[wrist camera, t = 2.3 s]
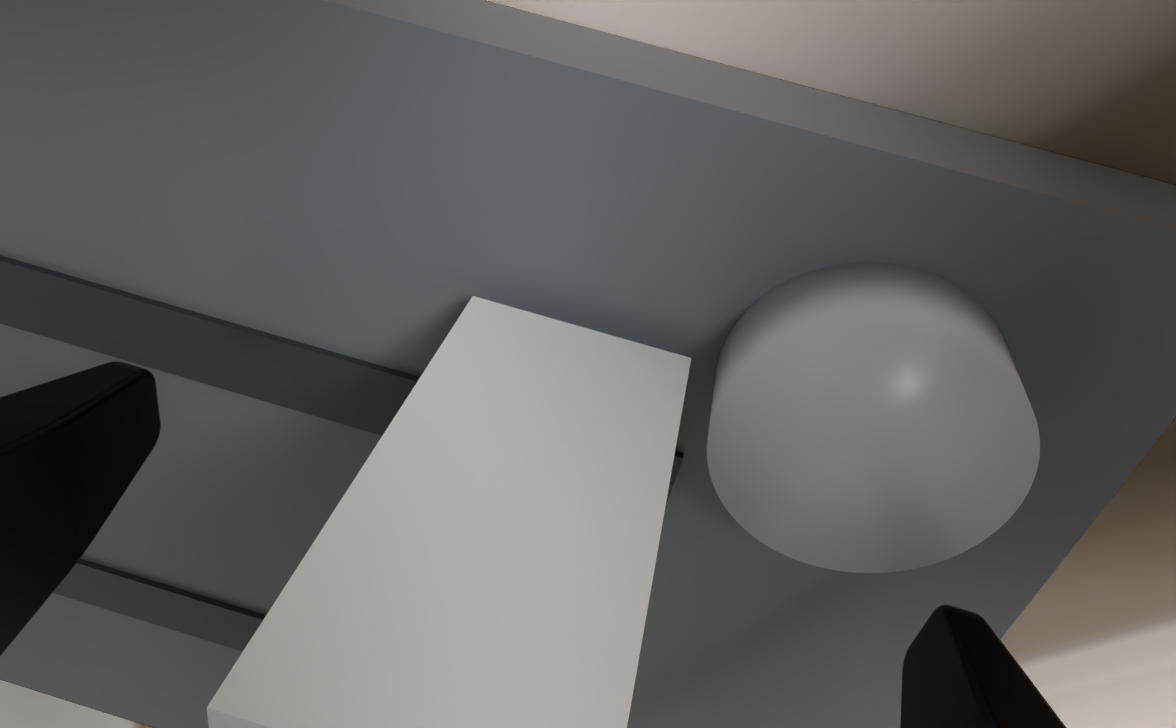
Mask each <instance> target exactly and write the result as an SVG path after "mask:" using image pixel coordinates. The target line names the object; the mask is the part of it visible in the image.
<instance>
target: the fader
mask: <svg viewBox="0 0 1176 728" xmlns="http://www.w3.org/2000/svg"><path fill="white" fill-rule="evenodd" d="M690 363H691V358H690V357H686V356H682V355H679V354H675V353H672V352H668V351H665V350H661V349H658V348H654V347H651V346H647V345H644V344H640V343H637V342H633V341H630V340H626V339H623V338H619V337H616V336H612V335H609V334H605V333H602V332H598V331H595V330H591V329H588V328H584V327H581V326H577V325H574V324H570V323H566V322H563V321H559V320H556V319H552V318H549V317H545V316H542V315H538V314H535V313H531V312H528V311H524V310H521V309H517V308H514V307H510V306H507V305H503V304H500V303H496V302H493V301H489V300H486V299H482V298H479V297H475V296H472V298H471V299H470V301H469V303H468V304H467V306H466V307H465V309H464V310H463V312H462V313H461V315H460V316H459V318H458V320H457V321H456V323H455V324H454V326H453V327H452V329H451V330H450V332H449V333H448V335H447V337H446V338H445V340H444V341H443V343H442V344H441V346H440V347H439V349H438V351H437V352H436V354H435V355H434V357H433V358H432V360H431V361H430V363H429V364H428V366H427V368H426V369H425V371H424V372H423V374H422V375H421V377H420V378H419V380H418V381H417V383H416V385H415V386H414V388H413V389H412V391H411V392H410V394H409V395H408V397H407V398H406V400H405V402H404V403H403V405H402V406H401V408H400V409H399V411H398V412H397V414H396V415H395V417H394V419H393V420H392V422H391V423H390V425H389V426H388V428H387V429H386V431H385V433H384V434H383V436H382V437H381V439H380V440H379V442H378V443H377V445H376V446H375V448H374V450H373V451H372V453H371V454H370V456H369V457H368V459H367V460H366V462H365V463H364V465H363V467H362V468H361V470H360V471H359V473H358V474H357V476H356V477H355V479H354V480H353V482H352V484H351V485H350V487H349V488H348V490H347V491H346V493H345V494H344V496H343V497H342V499H341V501H340V502H339V504H338V505H337V507H336V508H335V510H334V511H333V513H332V514H331V516H330V518H329V519H328V521H327V522H326V524H325V525H324V527H323V528H322V530H321V532H320V533H319V535H318V536H317V538H316V539H315V541H314V542H313V544H312V545H311V547H310V549H309V550H308V552H307V553H306V555H305V556H304V558H303V559H302V561H301V562H300V564H299V566H298V567H297V569H296V570H295V572H294V573H293V575H292V576H291V578H290V579H289V581H288V583H287V584H286V586H285V587H284V589H283V590H282V592H281V593H280V595H279V596H278V598H277V600H276V601H275V603H274V604H273V606H272V607H271V609H270V610H269V612H268V614H267V615H266V617H265V618H264V620H263V621H262V623H261V624H260V626H259V627H258V629H257V631H256V632H255V634H254V635H253V637H252V638H251V640H250V641H249V643H248V644H247V646H246V648H245V649H244V651H243V652H242V654H241V655H240V657H239V658H238V660H237V661H236V663H235V665H234V666H233V668H232V669H231V671H230V672H229V674H228V675H227V677H226V678H225V680H224V682H223V683H222V685H221V686H220V688H219V689H218V691H217V692H216V694H215V696H214V697H213V699H212V700H211V702H210V703H209V705H208V706H207V715H208V725H209V728H627V724H628V719H629V713H630V707H631V701H632V696H633V690H634V684H635V678H636V673H637V667H638V661H639V655H640V650H641V644H642V638H643V633H644V627H645V621H646V615H647V610H648V604H649V598H650V592H651V587H652V581H653V575H654V569H655V564H656V558H657V552H658V546H659V541H660V535H661V529H662V523H663V518H664V512H665V506H666V500H667V495H668V489H669V483H670V478H671V472H672V466H673V460H674V455H675V449H676V443H677V437H678V432H679V426H680V420H681V414H682V409H683V403H684V397H685V391H686V386H687V380H688V374H689V368H690Z"/></svg>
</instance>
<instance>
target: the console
mask: <svg viewBox="0 0 1176 728" xmlns="http://www.w3.org/2000/svg"><path fill="white" fill-rule="evenodd" d="M472 296H475V297H479V298H482V299H486V300H489V301H493V302H496V303H500V304H503V305H507V306H510V307H514V308H517V309H521V310H524V311H528V312H531V313H535V314H538V315H542V316H545V317H549V318H552V319H556V320H559V321H563V322H566V323H570V324H574V325H577V326H581V327H584V328H588V329H591V330H595V331H598V332H602V333H605V334H609V335H612V336H616V337H619V338H623V339H626V340H630V341H633V342H637V343H640V344H644V345H647V346H651V347H654V348H658V349H661V350H665V351H668V352H672V353H675V354H679V355H682V356H686V357H690V358H691V363H690V368H689V374H688V380H687V386H686V391H685V397H684V403H683V409H682V414H681V420H680V426H679V432H678V437H677V443H676V449H675V455H674V460H673V466H672V472H671V478H670V483H669V489H668V495H667V500H666V506H665V512H664V518H663V523H662V529H661V535H660V541H659V546H658V552H657V558H656V564H655V569H654V575H653V581H652V587H651V592H650V598H649V604H648V610H647V615H646V621H645V627H644V633H643V638H642V644H641V650H640V655H639V661H638V667H637V673H636V678H635V684H634V690H633V696H632V701H631V707H630V713H629V719H628V724H627V728H900V720H901V692H902V668H903V661H904V658H905V654H906V652H907V649H908V648H909V646H910V644H911V643H912V642H913V640H914V639H915V637H916V636H917V634H918V633H919V631H920V630H921V629H922V627H923V626H924V624H925V623H926V621H927V620H928V618H929V617H930V616H931V614H932V613H933V611H934V610H935V609H936V608H937V607H939V606H941V605H951V606H954V607H958V608H961V609H964V610H968V611H971V612H975V613H977V614H979V615H980V616H981V617H983V618H984V619H985V621H986V622H987V623H988V624H989V626H990V627H991V628H992V630H993V631H994V632H995V634H996V635H997V636H998V638H999V639H1001V638H1002V636H1003V635H1004V634H1005V633H1006V631H1007V630H1008V629H1009V628H1010V626H1011V625H1012V624H1013V622H1014V621H1015V620H1016V619H1017V617H1018V616H1019V615H1020V614H1021V612H1022V611H1023V610H1024V609H1025V607H1026V606H1027V605H1028V603H1029V602H1030V601H1031V600H1032V598H1033V597H1034V596H1035V595H1036V593H1037V592H1038V591H1039V590H1040V588H1041V587H1042V586H1043V584H1044V583H1045V582H1046V581H1047V579H1048V578H1049V577H1050V576H1051V574H1052V573H1053V572H1054V570H1055V569H1056V568H1057V567H1058V565H1059V564H1060V563H1061V562H1062V560H1063V559H1064V558H1065V557H1066V555H1067V554H1068V553H1069V551H1070V550H1071V549H1072V548H1073V546H1074V545H1075V544H1076V543H1077V541H1078V540H1079V539H1080V538H1081V536H1082V535H1083V534H1084V532H1085V531H1086V530H1087V529H1088V527H1089V526H1090V525H1091V524H1092V522H1093V521H1094V520H1095V518H1096V517H1097V516H1098V515H1099V513H1100V512H1101V511H1102V510H1103V508H1104V507H1105V506H1106V505H1107V503H1108V502H1109V501H1110V499H1111V498H1112V497H1113V496H1114V494H1115V493H1116V492H1117V491H1118V489H1119V488H1120V487H1121V486H1122V484H1123V483H1124V482H1125V480H1126V479H1127V478H1128V477H1129V475H1130V474H1131V473H1132V472H1133V470H1134V469H1135V468H1136V466H1137V465H1138V464H1139V463H1140V461H1141V460H1142V459H1143V458H1144V456H1145V455H1146V454H1147V453H1148V451H1149V450H1150V449H1151V447H1152V446H1153V445H1154V444H1155V442H1156V441H1157V440H1158V439H1159V437H1160V436H1161V435H1162V434H1163V432H1164V431H1165V430H1166V428H1167V427H1168V426H1169V425H1170V423H1171V422H1172V421H1173V420H1174V418H1175V417H1176V185H1173V184H1169V183H1166V182H1162V181H1158V180H1154V179H1151V178H1147V177H1143V176H1139V175H1136V174H1132V173H1128V172H1125V171H1121V170H1117V169H1113V168H1110V167H1106V166H1102V165H1098V164H1095V163H1091V162H1087V161H1083V160H1080V159H1076V158H1072V157H1068V156H1065V155H1061V154H1057V153H1054V152H1050V151H1046V150H1042V149H1039V148H1035V147H1031V146H1027V145H1024V144H1020V143H1016V142H1012V141H1009V140H1005V139H1001V138H997V137H994V136H990V135H986V134H982V133H979V132H975V131H971V130H968V129H964V128H960V127H956V126H953V125H949V124H945V123H941V122H938V121H934V120H930V119H926V118H923V117H919V116H915V115H911V114H908V113H904V112H900V111H896V110H893V109H889V108H885V107H882V106H878V105H874V104H870V103H867V102H863V101H859V100H855V99H852V98H848V97H844V96H840V95H837V94H833V93H829V92H825V91H822V90H818V89H814V88H810V87H807V86H803V85H799V84H796V83H792V82H788V81H784V80H781V79H777V78H773V77H769V76H766V75H762V74H758V73H754V72H751V71H747V70H743V69H739V68H736V67H732V66H728V65H724V64H721V63H717V62H713V61H710V60H706V59H702V58H698V57H695V56H691V55H687V54H683V53H680V52H676V51H672V50H668V49H665V48H661V47H657V46H653V45H650V44H646V43H642V42H639V41H635V40H631V39H627V38H624V37H620V36H616V35H612V34H609V33H605V32H601V31H597V30H594V29H590V28H586V27H582V26H579V25H575V24H571V23H567V22H564V21H560V20H556V19H553V18H549V17H545V16H541V15H538V14H534V13H530V12H526V11H523V10H519V9H515V8H511V7H508V6H504V5H500V4H496V3H493V2H489V1H485V0H0V397H2V396H5V395H9V394H12V393H15V392H18V391H21V390H24V389H27V388H30V387H33V386H37V385H40V384H43V383H46V382H49V381H52V380H55V379H58V378H61V377H65V376H68V375H71V374H74V373H77V372H80V371H83V370H86V369H89V368H93V367H96V366H99V365H102V364H105V363H109V362H113V361H118V362H124V363H127V364H131V365H134V366H137V367H141V368H144V369H147V370H148V371H150V372H151V373H152V374H153V376H154V377H155V381H156V388H157V396H158V405H159V413H160V422H161V429H160V435H159V438H158V440H157V443H156V445H155V447H154V448H153V450H152V451H151V453H150V454H149V456H148V458H147V459H146V461H145V462H144V464H143V465H142V467H141V468H140V470H139V471H138V473H137V474H136V476H135V477H134V479H133V480H132V482H131V483H130V485H129V487H128V488H127V490H126V491H125V493H124V494H123V496H122V497H121V499H120V500H119V502H118V503H117V505H116V506H115V508H114V509H113V511H112V512H111V514H110V516H109V517H108V519H107V520H106V522H105V523H104V525H103V526H102V528H101V529H100V531H99V532H98V534H97V535H96V537H95V538H94V540H93V541H92V543H91V544H90V545H89V547H88V548H87V550H86V551H85V553H84V554H83V555H82V557H81V558H80V559H79V561H78V562H77V563H76V564H75V566H74V567H73V568H72V570H71V571H70V572H69V573H68V575H67V576H66V577H65V578H64V579H63V581H62V582H61V583H60V584H59V586H58V587H57V588H56V589H55V590H54V592H53V593H52V594H51V595H50V597H49V598H48V599H47V600H46V601H45V603H44V604H43V605H42V606H41V607H40V609H39V610H38V611H37V612H36V614H35V615H34V616H33V617H32V618H31V620H30V621H29V622H28V623H27V625H26V626H25V627H24V628H23V629H22V631H21V632H20V633H19V634H18V636H17V637H16V638H15V639H14V640H13V642H12V643H11V644H10V645H9V647H8V648H7V649H6V650H5V651H4V653H3V654H2V655H1V656H0V680H3V681H6V682H10V683H13V684H16V685H19V686H22V687H26V688H29V689H32V690H35V691H38V692H41V693H44V694H48V695H51V696H54V697H57V698H60V699H63V700H67V701H70V702H73V703H76V704H79V705H83V706H86V707H89V708H92V709H95V710H98V711H102V712H105V713H108V714H111V715H114V716H118V717H121V718H124V719H127V720H130V721H133V722H137V723H140V724H143V725H146V726H149V727H152V728H209V725H208V715H207V706H208V705H209V703H210V702H211V700H212V699H213V697H214V696H215V694H216V692H217V691H218V689H219V688H220V686H221V685H222V683H223V682H224V680H225V678H226V677H227V675H228V674H229V672H230V671H231V669H232V668H233V666H234V665H235V663H236V661H237V660H238V658H239V657H240V655H241V654H242V652H243V651H244V649H245V648H246V646H247V644H248V643H249V641H250V640H251V638H252V637H253V635H254V634H255V632H256V631H257V629H258V627H259V626H260V624H261V623H262V621H263V620H264V618H265V617H266V615H267V614H268V612H269V610H270V609H271V607H272V606H273V604H274V603H275V601H276V600H277V598H278V596H279V595H280V593H281V592H282V590H283V589H284V587H285V586H286V584H287V583H288V581H289V579H290V578H291V576H292V575H293V573H294V572H295V570H296V569H297V567H298V566H299V564H300V562H301V561H302V559H303V558H304V556H305V555H306V553H307V552H308V550H309V549H310V547H311V545H312V544H313V542H314V541H315V539H316V538H317V536H318V535H319V533H320V532H321V530H322V528H323V527H324V525H325V524H326V522H327V521H328V519H329V518H330V516H331V514H332V513H333V511H334V510H335V508H336V507H337V505H338V504H339V502H340V501H341V499H342V497H343V496H344V494H345V493H346V491H347V490H348V488H349V487H350V485H351V484H352V482H353V480H354V479H355V477H356V476H357V474H358V473H359V471H360V470H361V468H362V467H363V465H364V463H365V462H366V460H367V459H368V457H369V456H370V454H371V453H372V451H373V450H374V448H375V446H376V445H377V443H378V442H379V440H380V439H381V437H382V436H383V434H384V433H385V431H386V429H387V428H388V426H389V425H390V423H391V422H392V420H393V419H394V417H395V415H396V414H397V412H398V411H399V409H400V408H401V406H402V405H403V403H404V402H405V400H406V398H407V397H408V395H409V394H410V392H411V391H412V389H413V388H414V386H415V385H416V383H417V381H418V380H419V378H420V377H421V375H422V374H423V372H424V371H425V369H426V368H427V366H428V364H429V363H430V361H431V360H432V358H433V357H434V355H435V354H436V352H437V351H438V349H439V347H440V346H441V344H442V343H443V341H444V340H445V338H446V337H447V335H448V333H449V332H450V330H451V329H452V327H453V326H454V324H455V323H456V321H457V320H458V318H459V316H460V315H461V313H462V312H463V310H464V309H465V307H466V306H467V304H468V303H469V301H470V299H471V298H472Z"/></svg>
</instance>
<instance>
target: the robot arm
mask: <svg viewBox="0 0 1176 728" xmlns="http://www.w3.org/2000/svg"><path fill="white" fill-rule="evenodd" d="M160 429H161V422H160V413H159V405H158V396H157V388H156V381H155V377H154V376H153V374H152V373H151V372H150V371H148V370H147V369H144V368H141V367H137V366H134V365H131V364H127V363H124V362H118V361H113V362H109V363H105V364H102V365H99V366H96V367H93V368H89V369H86V370H83V371H80V372H77V373H74V374H71V375H68V376H65V377H61V378H58V379H55V380H52V381H49V382H46V383H43V384H40V385H37V386H33V387H30V388H27V389H24V390H21V391H18V392H15V393H12V394H9V395H5V396H2V397H0V656H1V655H2V654H3V653H4V651H5V650H6V649H7V648H8V647H9V645H10V644H11V643H12V642H13V640H14V639H15V638H16V637H17V636H18V634H19V633H20V632H21V631H22V629H23V628H24V627H25V626H26V625H27V623H28V622H29V621H30V620H31V618H32V617H33V616H34V615H35V614H36V612H37V611H38V610H39V609H40V607H41V606H42V605H43V604H44V603H45V601H46V600H47V599H48V598H49V597H50V595H51V594H52V593H53V592H54V590H55V589H56V588H57V587H58V586H59V584H60V583H61V582H62V581H63V579H64V578H65V577H66V576H67V575H68V573H69V572H70V571H71V570H72V568H73V567H74V566H75V564H76V563H77V562H78V561H79V559H80V558H81V557H82V555H83V554H84V553H85V551H86V550H87V548H88V547H89V545H90V544H91V543H92V541H93V540H94V538H95V537H96V535H97V534H98V532H99V531H100V529H101V528H102V526H103V525H104V523H105V522H106V520H107V519H108V517H109V516H110V514H111V512H112V511H113V509H114V508H115V506H116V505H117V503H118V502H119V500H120V499H121V497H122V496H123V494H124V493H125V491H126V490H127V488H128V487H129V485H130V483H131V482H132V480H133V479H134V477H135V476H136V474H137V473H138V471H139V470H140V468H141V467H142V465H143V464H144V462H145V461H146V459H147V458H148V456H149V454H150V453H151V451H152V450H153V448H154V447H155V445H156V443H157V440H158V438H159V435H160ZM900 728H1066V727H1065V725H1064V724H1063V723H1062V721H1061V720H1060V719H1059V717H1058V716H1057V715H1056V713H1055V712H1054V711H1053V709H1052V708H1051V707H1050V705H1049V704H1048V703H1047V701H1046V700H1045V699H1044V697H1043V696H1042V695H1041V693H1040V692H1039V691H1038V689H1037V688H1036V687H1035V686H1034V684H1033V683H1032V682H1031V680H1030V679H1029V678H1028V676H1027V675H1026V674H1025V672H1024V671H1023V670H1022V668H1021V667H1020V666H1019V664H1018V663H1017V662H1016V660H1015V659H1014V658H1013V656H1012V655H1011V654H1010V652H1009V651H1008V650H1007V648H1006V647H1005V646H1004V644H1003V643H1002V642H1001V640H1000V639H999V638H998V636H997V635H996V634H995V632H994V631H993V630H992V628H991V627H990V626H989V624H988V623H987V622H986V621H985V619H984V618H983V617H981V616H980V615H979V614H977V613H975V612H971V611H968V610H964V609H961V608H958V607H954V606H951V605H941V606H939V607H937V608H936V609H935V610H934V611H933V613H932V614H931V616H930V617H929V618H928V620H927V621H926V623H925V624H924V626H923V627H922V629H921V630H920V631H919V633H918V634H917V636H916V637H915V639H914V640H913V642H912V643H911V644H910V646H909V648H908V649H907V652H906V654H905V658H904V661H903V668H902V692H901V720H900Z"/></svg>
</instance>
